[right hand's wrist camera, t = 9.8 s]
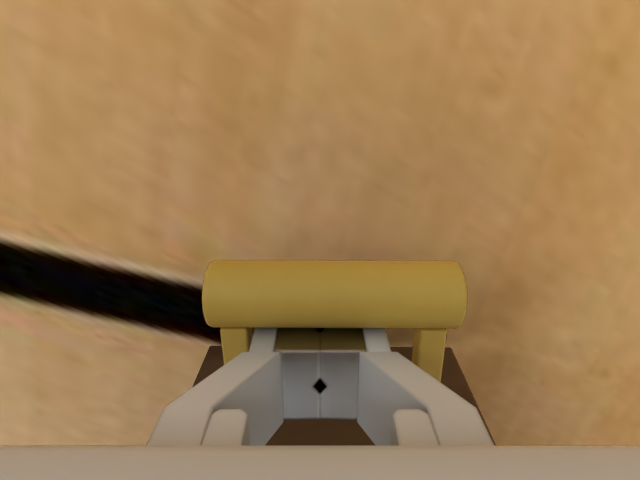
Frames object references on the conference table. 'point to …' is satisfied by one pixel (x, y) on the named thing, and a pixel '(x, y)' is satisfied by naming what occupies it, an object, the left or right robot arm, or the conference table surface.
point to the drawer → (337, 319)
